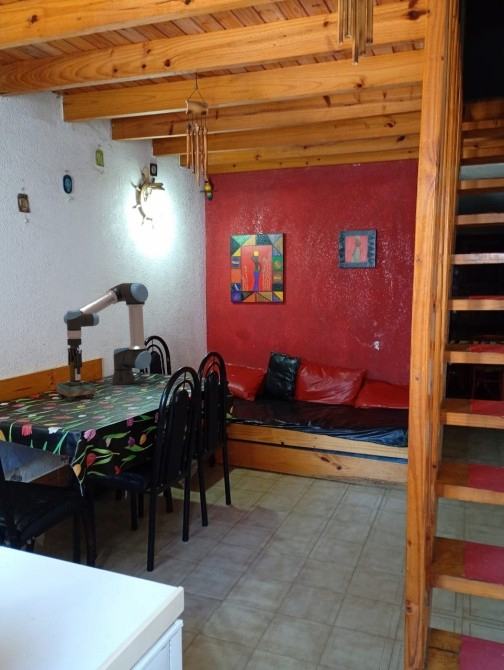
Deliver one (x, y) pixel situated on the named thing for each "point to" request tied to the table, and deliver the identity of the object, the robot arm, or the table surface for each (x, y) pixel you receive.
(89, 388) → the shallow square tray
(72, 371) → the condiment
